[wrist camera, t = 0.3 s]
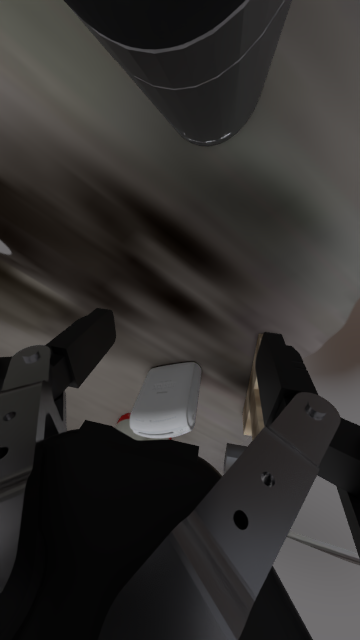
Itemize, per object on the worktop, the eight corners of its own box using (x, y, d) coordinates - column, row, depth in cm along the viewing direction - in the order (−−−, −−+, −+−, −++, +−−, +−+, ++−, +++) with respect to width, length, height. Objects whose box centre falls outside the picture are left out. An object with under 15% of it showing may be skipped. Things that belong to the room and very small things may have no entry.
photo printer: (197, 358, 36) (185, 424, 26) (205, 375, 38) (196, 444, 28) (147, 366, 40) (118, 427, 30) (156, 381, 42) (132, 444, 31)
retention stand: (231, 331, 32) (233, 416, 20) (280, 335, 31) (313, 428, 19) (222, 411, 42) (219, 499, 30) (258, 417, 41) (270, 511, 29)
